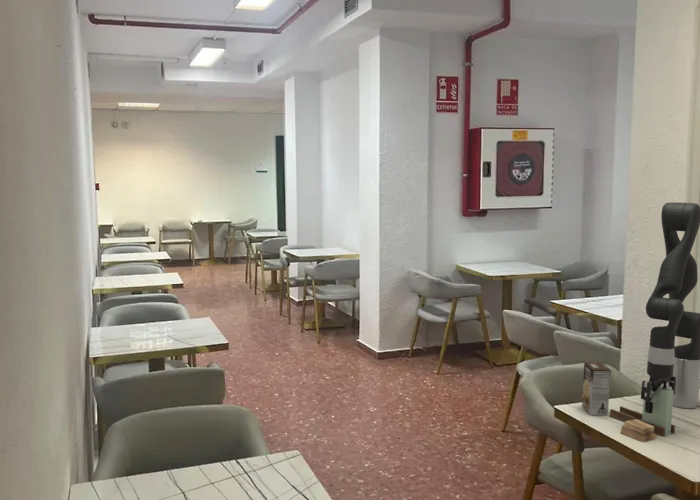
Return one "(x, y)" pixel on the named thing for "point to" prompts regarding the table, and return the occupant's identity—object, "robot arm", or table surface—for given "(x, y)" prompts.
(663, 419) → the pale green block
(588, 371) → the coffee box
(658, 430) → the rack
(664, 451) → the table surface
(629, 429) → the offcut stack
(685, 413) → the table surface
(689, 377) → the robot arm
